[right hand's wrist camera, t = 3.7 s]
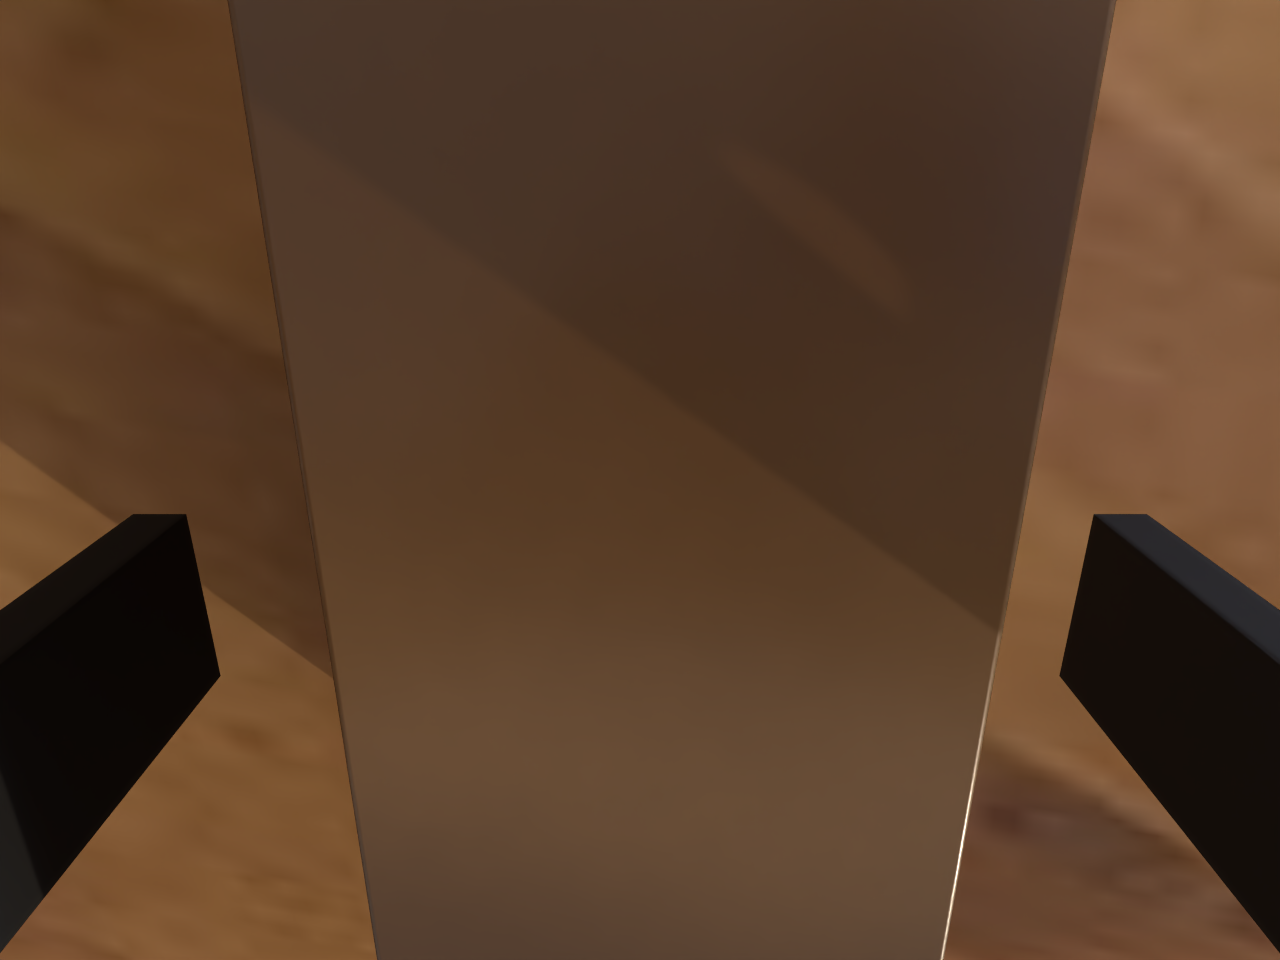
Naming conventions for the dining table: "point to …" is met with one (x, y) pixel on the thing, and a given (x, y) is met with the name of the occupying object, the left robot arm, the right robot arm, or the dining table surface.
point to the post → (666, 444)
